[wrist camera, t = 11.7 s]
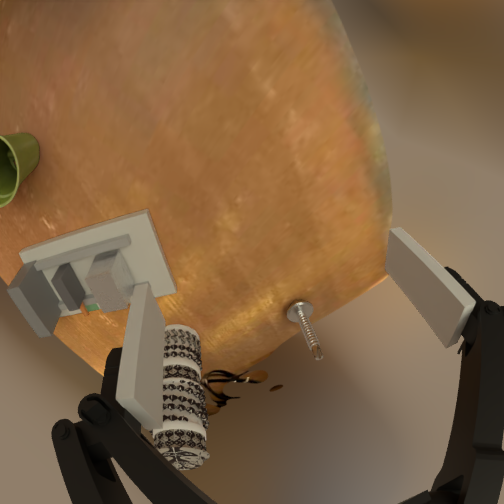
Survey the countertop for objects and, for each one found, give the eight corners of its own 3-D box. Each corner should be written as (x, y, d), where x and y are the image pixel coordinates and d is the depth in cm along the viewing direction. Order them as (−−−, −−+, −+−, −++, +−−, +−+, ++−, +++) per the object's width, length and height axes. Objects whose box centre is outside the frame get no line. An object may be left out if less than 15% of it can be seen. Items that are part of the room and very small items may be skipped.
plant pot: (28, 196, 34) (-1, 222, 27) (-8, 156, 29) (-41, 175, 22) (61, 150, 32) (31, 169, 25) (23, 108, 27) (-12, 118, 20)
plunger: (96, 255, 39) (84, 279, 34) (119, 248, 39) (110, 273, 34) (111, 286, 42) (103, 312, 37) (134, 281, 43) (128, 308, 38)
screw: (278, 309, 53) (296, 290, 51) (297, 317, 55) (314, 300, 53) (298, 365, 42) (320, 346, 40) (319, 371, 44) (341, 353, 42)
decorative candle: (145, 345, 53) (139, 467, 32) (165, 315, 49) (163, 451, 28) (187, 360, 56) (195, 476, 36) (210, 333, 53) (226, 460, 32)
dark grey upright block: (59, 265, 39) (50, 280, 35) (69, 262, 39) (60, 278, 36) (84, 308, 44) (78, 325, 40) (93, 307, 44) (88, 323, 41)
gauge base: (22, 248, 38) (-1, 279, 31) (148, 208, 39) (137, 238, 32) (59, 312, 45) (45, 345, 38) (176, 286, 47) (175, 324, 40)
